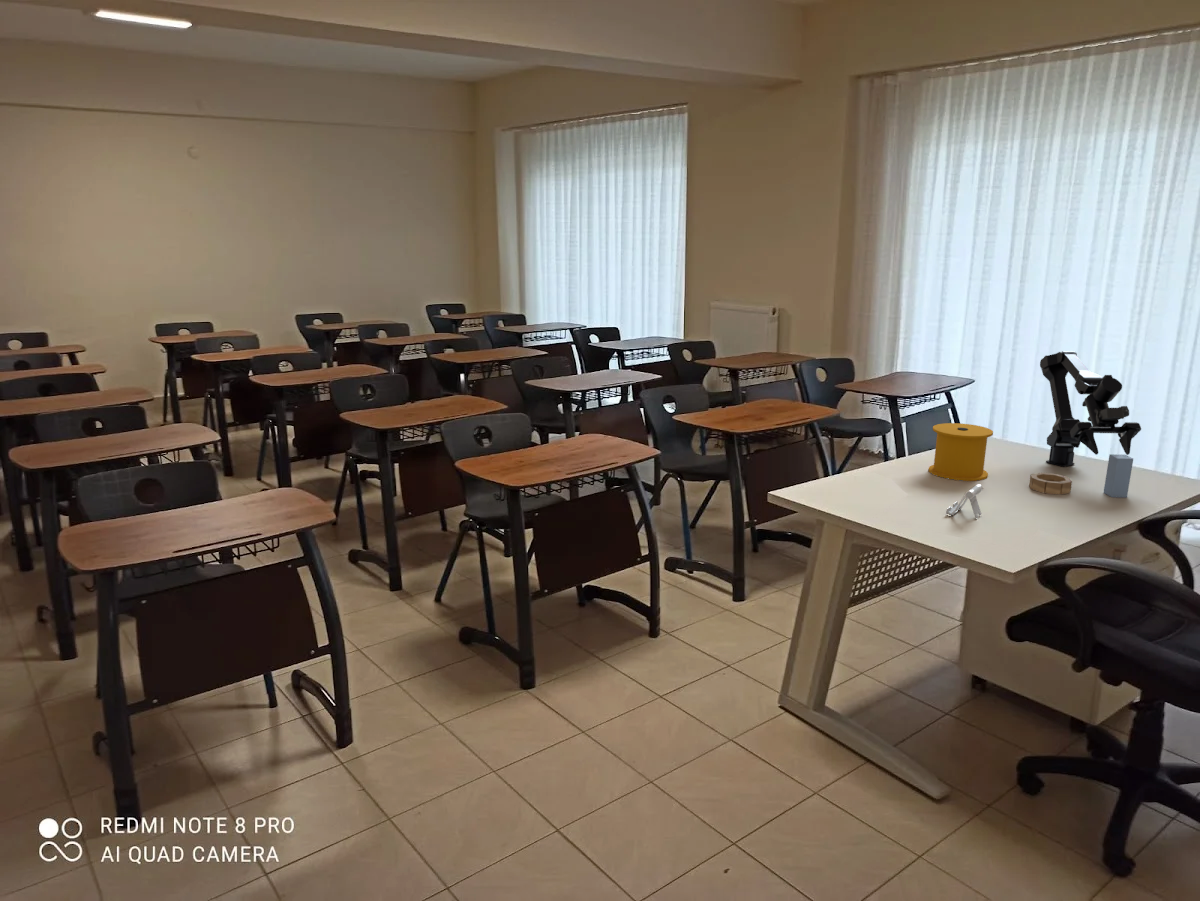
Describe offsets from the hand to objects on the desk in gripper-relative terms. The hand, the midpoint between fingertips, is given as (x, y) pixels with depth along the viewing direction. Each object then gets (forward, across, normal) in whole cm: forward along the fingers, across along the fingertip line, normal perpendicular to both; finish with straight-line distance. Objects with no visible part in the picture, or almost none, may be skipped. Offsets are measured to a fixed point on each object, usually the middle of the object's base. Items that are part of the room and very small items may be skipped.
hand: (1112, 454), depth 255 cm
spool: (-4, -39, +20) cm, 44 cm away
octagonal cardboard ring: (+8, -17, +9) cm, 20 cm away
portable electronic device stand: (+26, -52, -9) cm, 59 cm away
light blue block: (+11, 0, +5) cm, 12 cm away
